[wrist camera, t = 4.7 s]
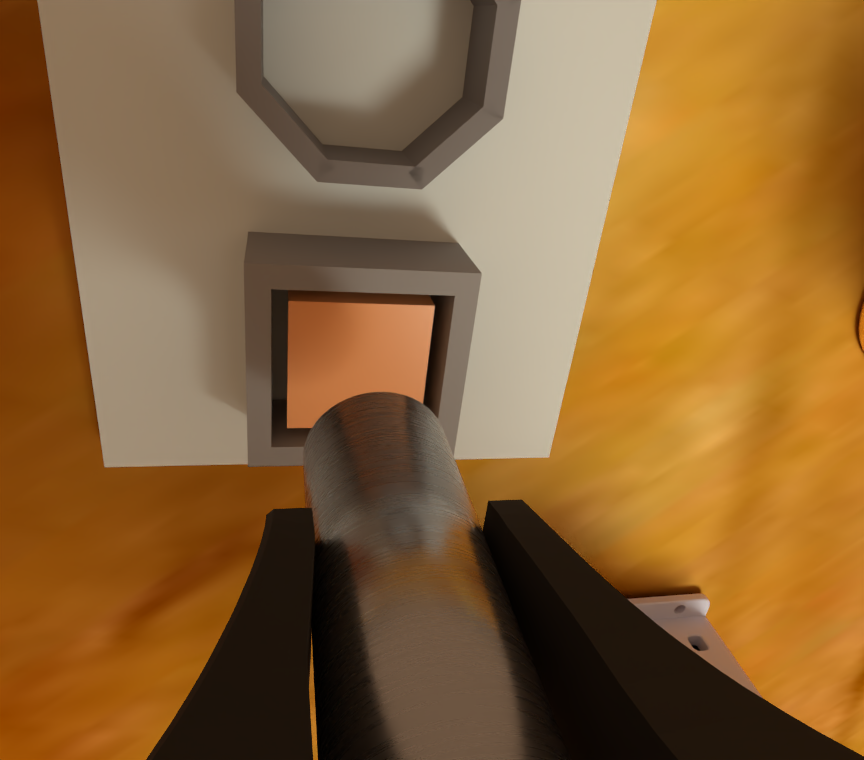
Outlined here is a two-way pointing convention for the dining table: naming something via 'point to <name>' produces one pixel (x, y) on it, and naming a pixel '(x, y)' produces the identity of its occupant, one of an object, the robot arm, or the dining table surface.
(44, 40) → the panel
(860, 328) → the beer glass
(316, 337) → the button
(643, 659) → the robot arm
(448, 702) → the metal cylinder
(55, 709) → the dining table surface
